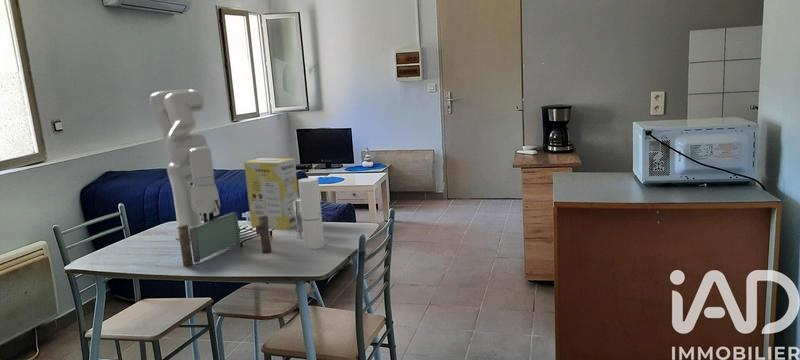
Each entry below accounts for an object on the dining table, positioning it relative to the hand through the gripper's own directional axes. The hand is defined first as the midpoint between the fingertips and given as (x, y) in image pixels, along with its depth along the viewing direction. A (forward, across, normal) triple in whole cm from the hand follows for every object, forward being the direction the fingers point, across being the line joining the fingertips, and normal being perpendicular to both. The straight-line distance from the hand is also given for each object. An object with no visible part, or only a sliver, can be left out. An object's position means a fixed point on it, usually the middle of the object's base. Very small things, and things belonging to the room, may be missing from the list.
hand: (209, 229), depth 211 cm
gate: (+8, +4, -1) cm, 9 cm away
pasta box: (+9, -1, +38) cm, 39 cm away
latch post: (+8, +20, +7) cm, 23 cm away
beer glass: (+9, +22, +27) cm, 36 cm away
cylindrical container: (+8, +34, +18) cm, 39 cm away
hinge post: (+8, +3, -14) cm, 16 cm away
